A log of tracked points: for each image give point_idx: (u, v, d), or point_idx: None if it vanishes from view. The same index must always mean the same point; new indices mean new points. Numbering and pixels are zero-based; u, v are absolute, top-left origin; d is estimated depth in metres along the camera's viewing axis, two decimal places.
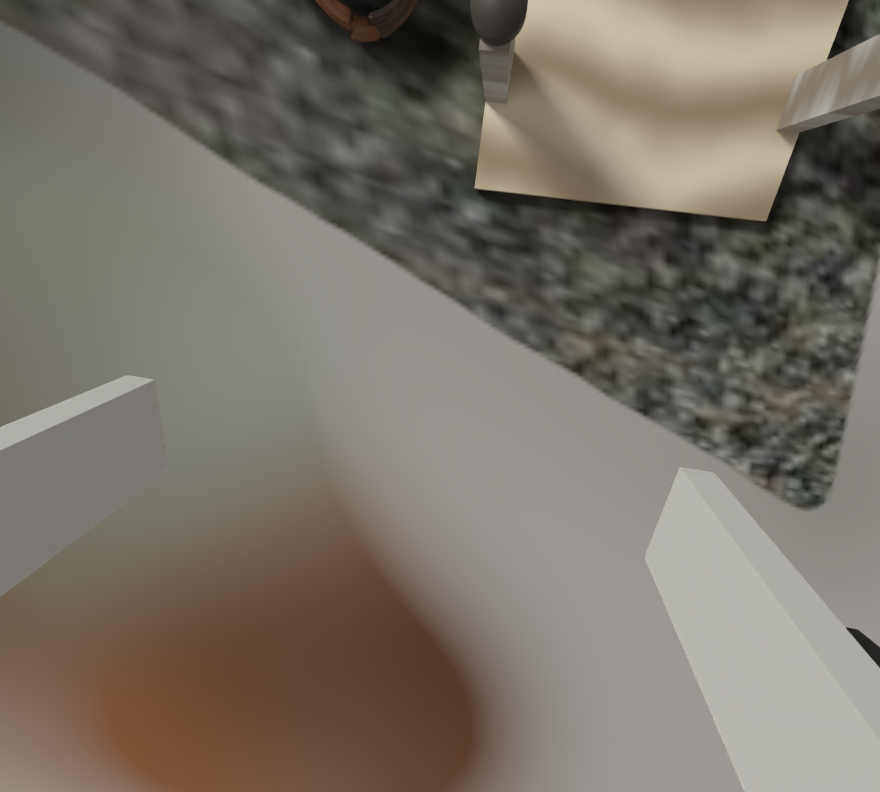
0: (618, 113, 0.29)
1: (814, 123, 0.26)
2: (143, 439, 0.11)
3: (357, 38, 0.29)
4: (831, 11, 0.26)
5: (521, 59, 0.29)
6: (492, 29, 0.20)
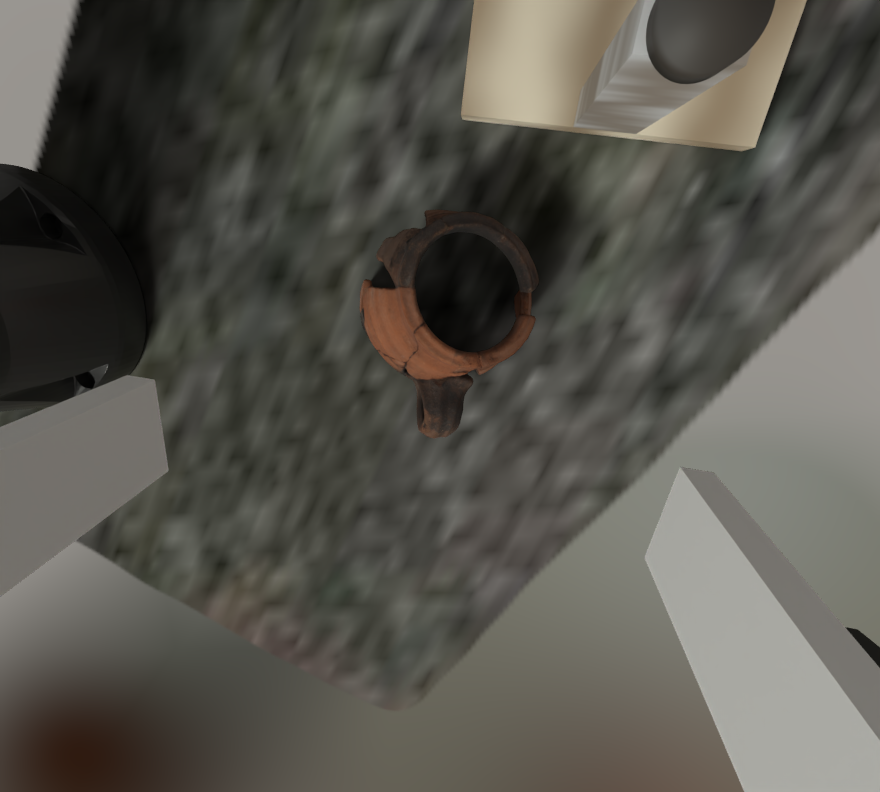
0: None
1: None
2: (143, 439, 0.11)
3: None
4: None
5: None
6: (756, 18, 0.10)
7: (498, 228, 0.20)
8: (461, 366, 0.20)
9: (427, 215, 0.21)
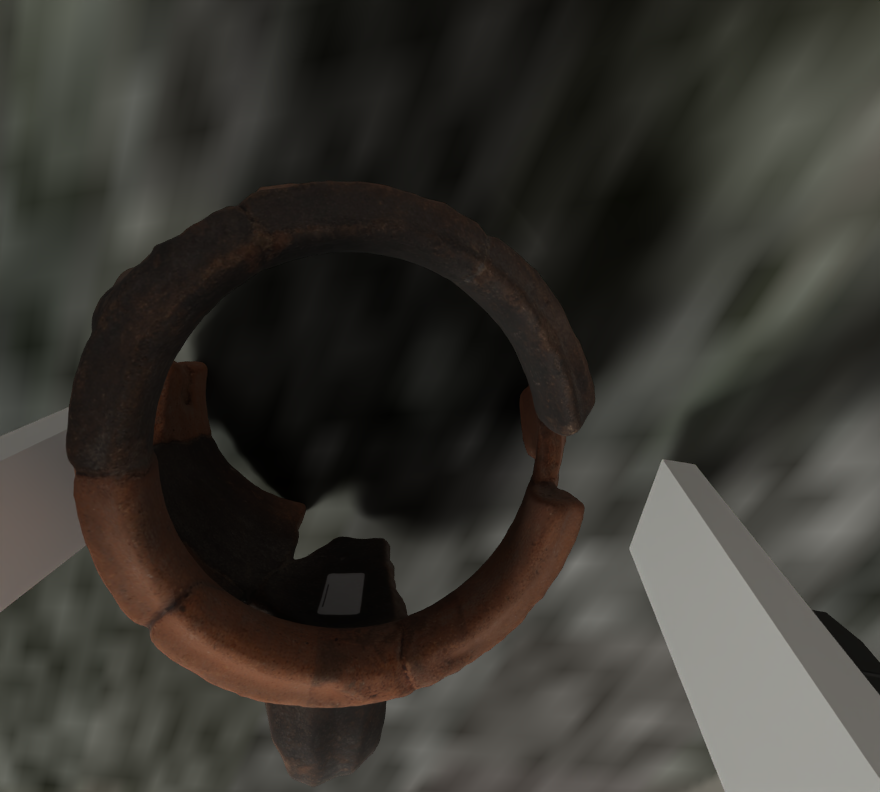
0: None
1: None
2: None
3: None
4: None
5: None
6: None
7: (465, 238, 0.06)
8: (343, 704, 0.06)
9: None
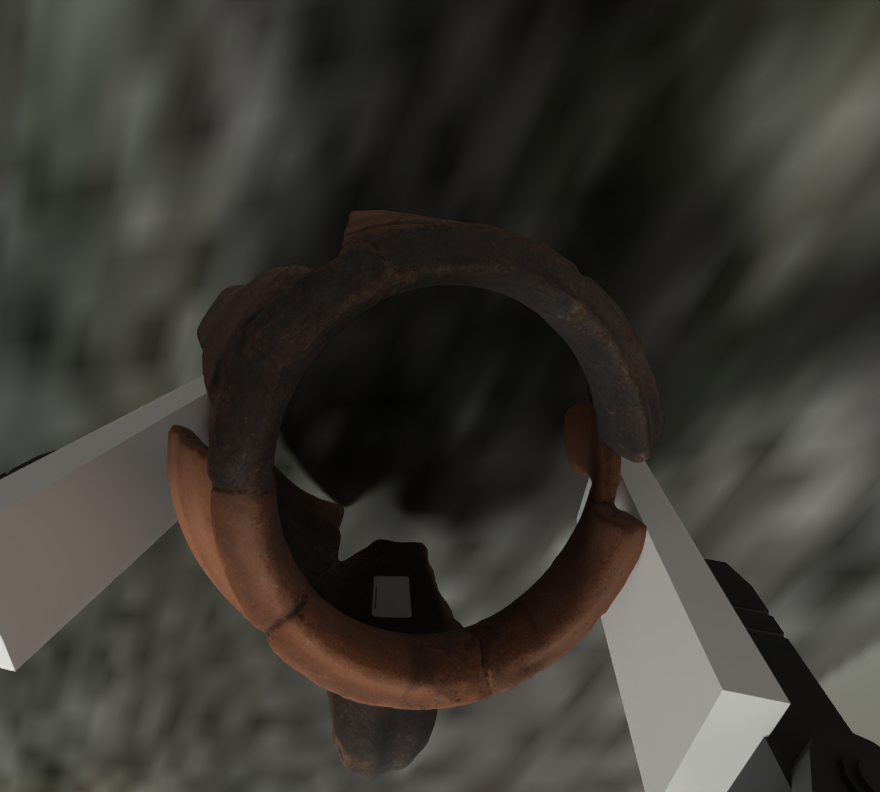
0: None
1: None
2: None
3: None
4: None
5: None
6: None
7: (564, 277, 0.06)
8: (429, 707, 0.07)
9: (348, 226, 0.07)
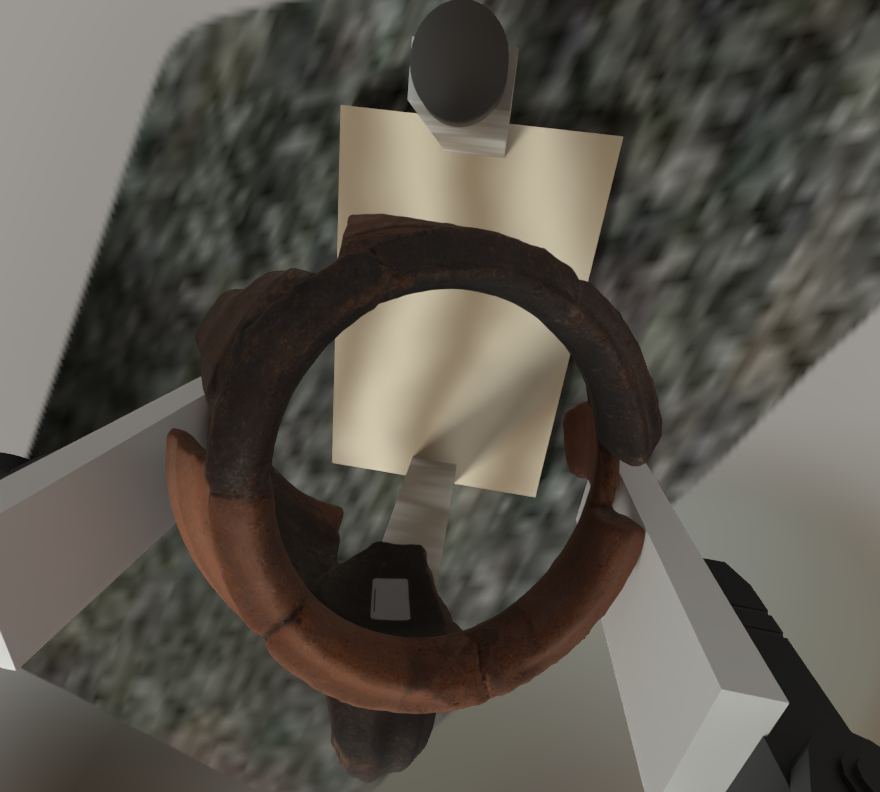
0: (472, 354, 0.26)
1: None
2: None
3: None
4: (381, 126, 0.22)
5: (419, 450, 0.28)
6: None
7: (562, 282, 0.06)
8: (427, 710, 0.07)
9: (347, 230, 0.07)
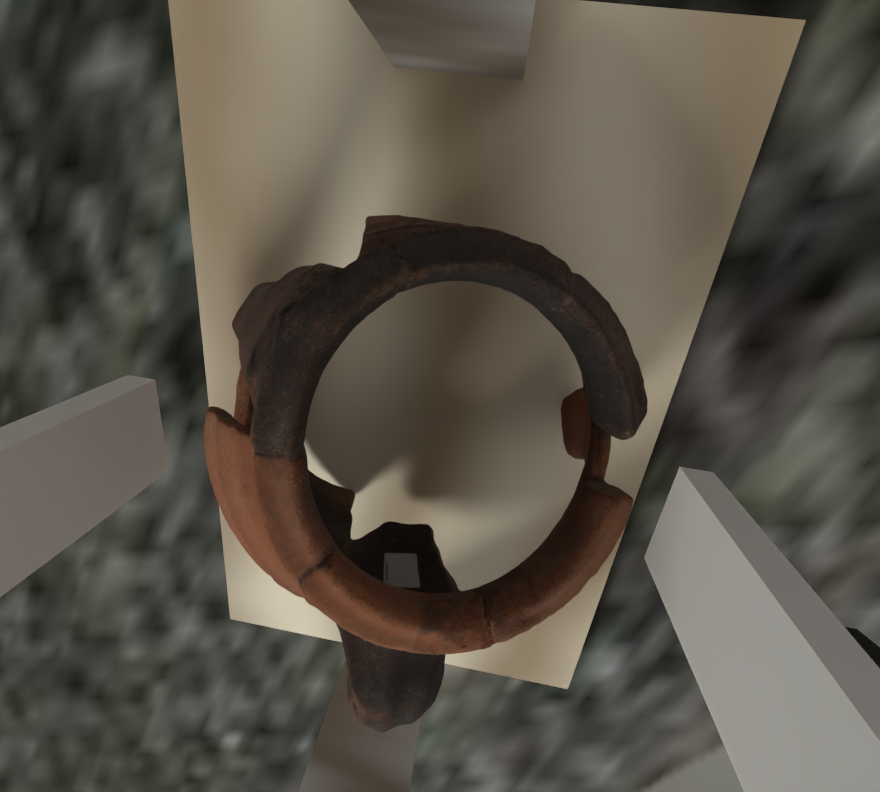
0: (458, 466, 0.14)
1: None
2: (144, 439, 0.11)
3: None
4: (255, 12, 0.10)
5: None
6: None
7: (557, 275, 0.07)
8: (438, 652, 0.07)
9: (366, 229, 0.08)
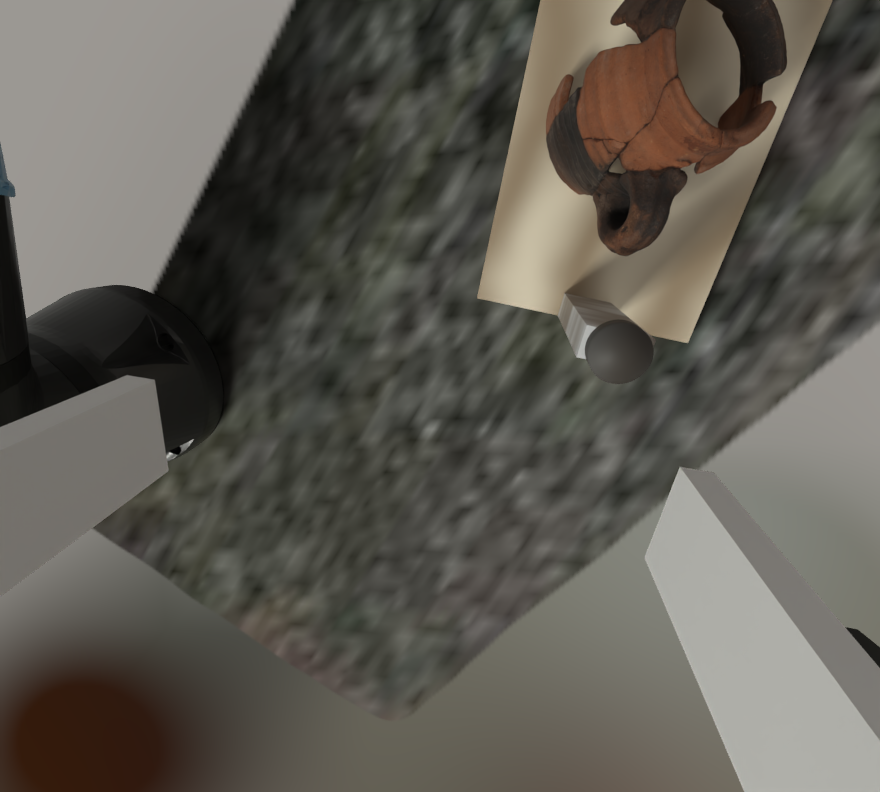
0: None
1: None
2: (143, 439, 0.11)
3: None
4: None
5: (573, 285, 0.28)
6: (643, 363, 0.18)
7: None
8: (702, 139, 0.18)
9: None
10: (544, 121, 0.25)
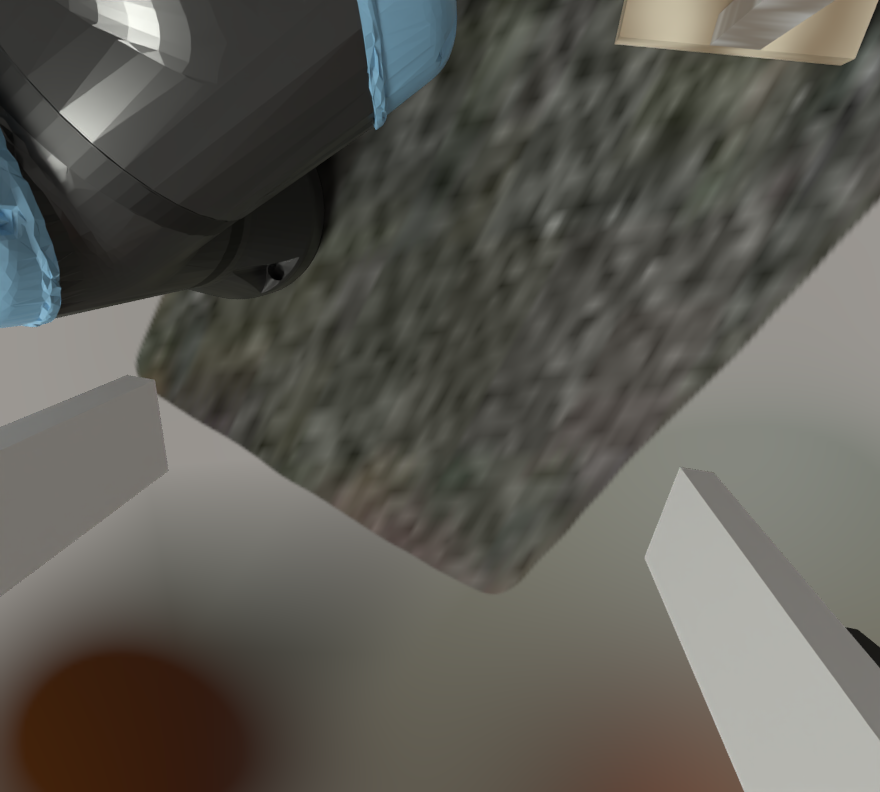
0: None
1: None
2: (143, 439, 0.11)
3: None
4: None
5: (728, 3, 0.26)
6: None
7: None
8: None
9: None
10: None
